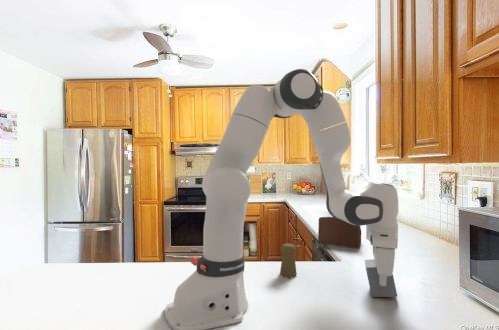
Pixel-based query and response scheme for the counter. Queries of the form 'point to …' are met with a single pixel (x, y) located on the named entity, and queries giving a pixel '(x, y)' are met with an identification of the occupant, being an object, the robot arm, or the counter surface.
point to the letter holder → (338, 233)
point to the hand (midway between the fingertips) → (381, 279)
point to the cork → (288, 261)
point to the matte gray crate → (374, 282)
